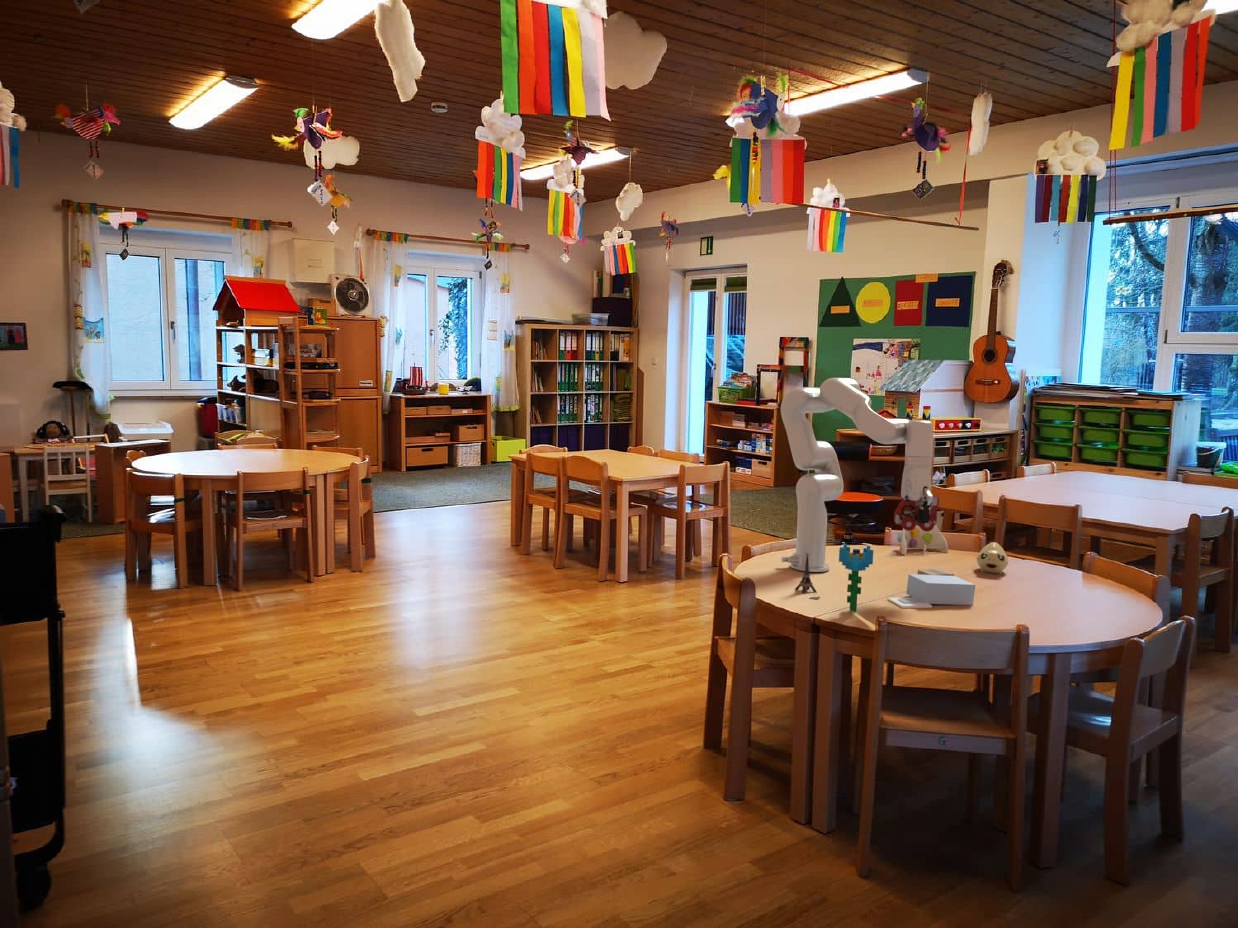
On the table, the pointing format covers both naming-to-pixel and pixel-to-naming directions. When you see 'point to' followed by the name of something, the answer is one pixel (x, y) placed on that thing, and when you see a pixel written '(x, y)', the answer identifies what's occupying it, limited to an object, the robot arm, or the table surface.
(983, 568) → the yellow animal figurine
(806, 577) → the eiffel tower figurine
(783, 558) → the robot arm
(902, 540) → the shape sorter
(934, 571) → the tan block
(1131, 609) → the table surface
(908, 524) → the toy fire truck
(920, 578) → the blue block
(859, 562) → the toy flower
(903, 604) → the tile
